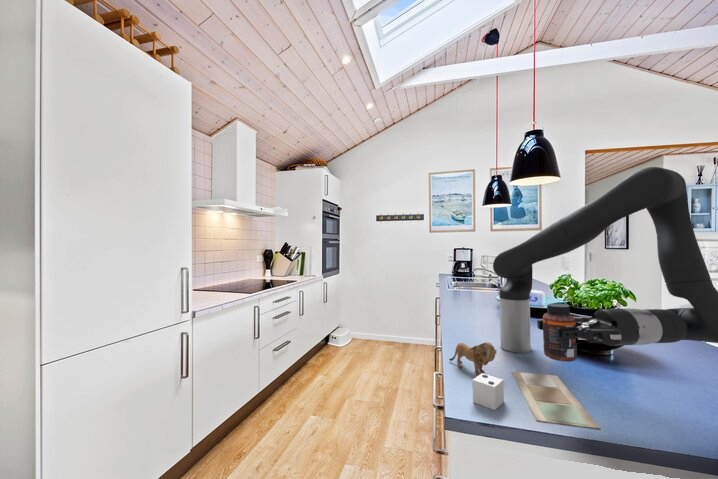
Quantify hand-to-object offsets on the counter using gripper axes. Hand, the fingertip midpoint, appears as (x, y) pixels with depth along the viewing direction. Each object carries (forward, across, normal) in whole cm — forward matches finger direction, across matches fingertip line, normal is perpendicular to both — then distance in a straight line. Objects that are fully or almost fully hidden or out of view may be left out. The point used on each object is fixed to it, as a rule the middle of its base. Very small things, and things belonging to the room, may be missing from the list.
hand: (547, 328), depth 65 cm
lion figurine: (+8, -22, +18) cm, 30 cm away
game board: (-4, -7, +18) cm, 19 cm away
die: (+11, -4, +18) cm, 21 cm away
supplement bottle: (-3, 0, +6) cm, 7 cm away
